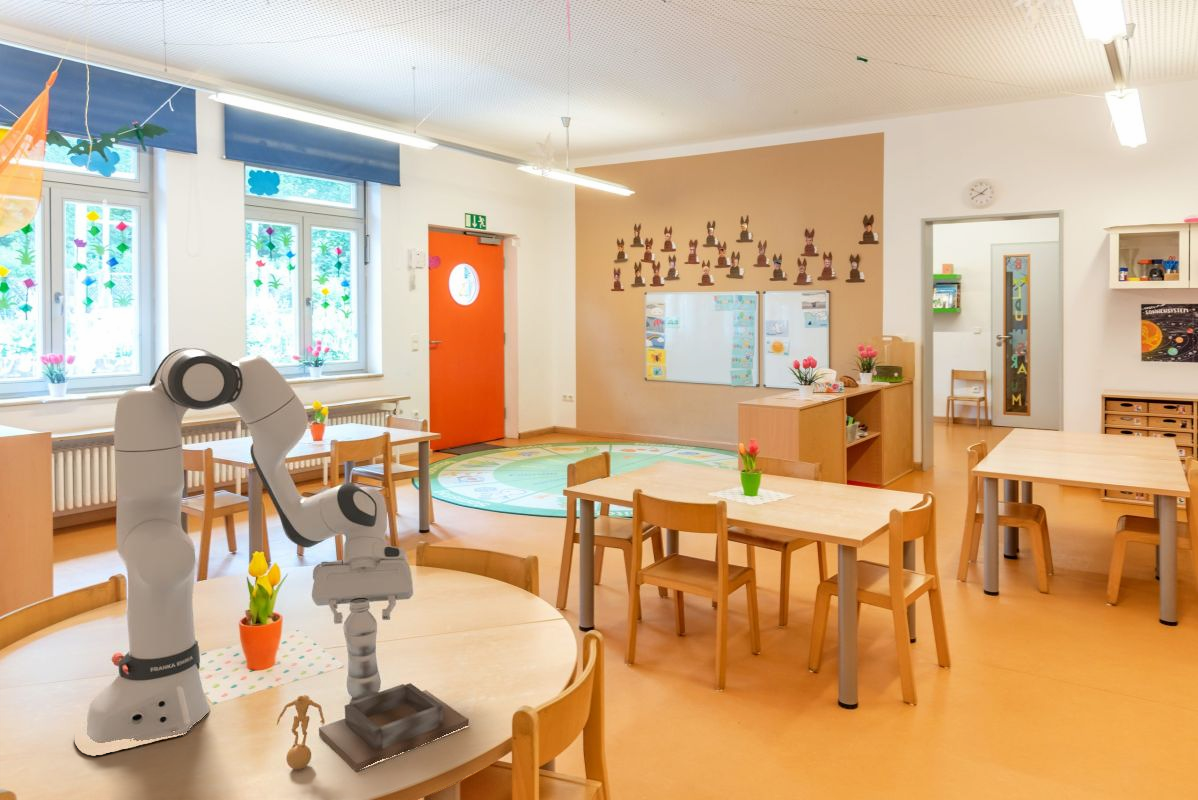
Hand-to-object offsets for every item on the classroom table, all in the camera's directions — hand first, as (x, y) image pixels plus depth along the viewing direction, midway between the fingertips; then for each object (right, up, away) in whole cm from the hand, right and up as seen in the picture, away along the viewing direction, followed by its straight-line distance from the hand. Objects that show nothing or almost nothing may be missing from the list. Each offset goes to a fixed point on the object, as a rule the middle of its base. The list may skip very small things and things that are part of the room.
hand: (362, 620), depth 168 cm
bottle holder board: (+10, -16, -15) cm, 24 cm away
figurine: (-3, -18, -25) cm, 31 cm away
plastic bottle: (+1, -15, -1) cm, 15 cm away
